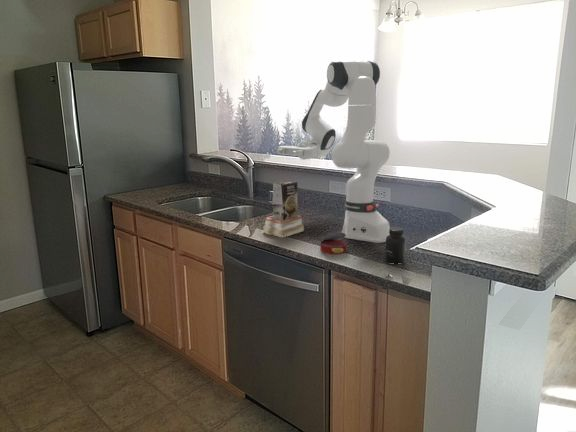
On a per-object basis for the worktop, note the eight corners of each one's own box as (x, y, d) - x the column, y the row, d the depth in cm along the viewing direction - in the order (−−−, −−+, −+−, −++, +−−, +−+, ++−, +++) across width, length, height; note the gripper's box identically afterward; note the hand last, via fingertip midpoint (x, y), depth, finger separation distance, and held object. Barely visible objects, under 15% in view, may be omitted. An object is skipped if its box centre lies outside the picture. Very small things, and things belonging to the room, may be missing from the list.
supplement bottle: (383, 263, 158) (384, 230, 155) (386, 257, 164) (387, 225, 161) (403, 266, 155) (405, 232, 153) (405, 259, 162) (407, 227, 159)
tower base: (303, 230, 199) (303, 215, 197) (282, 237, 189) (282, 222, 188) (284, 226, 206) (284, 212, 204) (263, 233, 196) (263, 217, 195)
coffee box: (283, 222, 191) (283, 184, 187) (272, 220, 195) (272, 182, 191) (298, 218, 197) (298, 181, 194) (287, 216, 202) (286, 180, 198)
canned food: (322, 264, 171) (310, 241, 170) (330, 254, 180) (318, 231, 179) (349, 255, 166) (336, 231, 164) (355, 244, 174) (343, 221, 173)
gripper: (288, 142, 225) (269, 144, 215) (322, 144, 212) (303, 146, 202) (289, 155, 226) (269, 157, 216) (322, 158, 213) (303, 161, 203)
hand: (286, 152), depth 209 cm, fingers open, 8 cm apart
